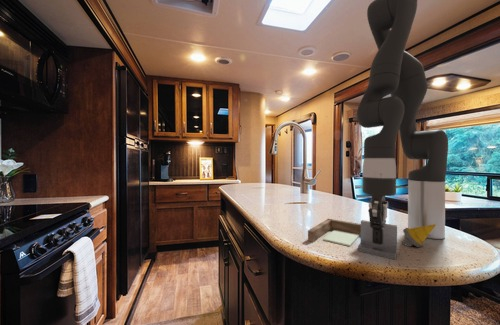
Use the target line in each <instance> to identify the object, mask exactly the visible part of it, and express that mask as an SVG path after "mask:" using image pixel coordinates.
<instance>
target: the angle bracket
mask: <svg viewBox="0 0 500 325" xmlns="http://www.w3.org/2000/svg"><path fill="white" fill-rule="evenodd" d="M375 223H377V224H379V223H378V222H375ZM360 224H361V235H360V243H359V244H358V245H357V251H358V252H362V253H366V254H370V255H374V256H379V257H384V258H387V259H390V260H396V258H397V253H398V225H397V224H388V223H385V224H384V223H383V227H384V229H383V243H382V244H381V245H379V244H375V243H373V242H372V236H373V228H371V226H370V220H365V219H362V220H360Z"/></svg>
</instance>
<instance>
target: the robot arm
mask: <svg viewBox="0 0 500 325" xmlns="http://www.w3.org/2000/svg"><path fill="white" fill-rule="evenodd" d="M417 8H418V0H373V1H372V2H370V3H369V5H368V7H367V12H366V16H367V21H368V22H367V23H368V27H369V28H370V32H371V35H372V37H373V39H374V42H375V45H376V47H377V50H378V51H377V52H376V54H375V56H374V58H373V60H372V63H371V66H370V69H369V70H370V72H369V78H368V85H367V87H366V88H365V91H364V93H363V95H362V98H361V100H360V102H359V105H358V107H357V112H356V118H357V119H356V120H357V122H358V124H359V125H360V126H361V127H362V128H366V129H367V128H368V129H370V128H371V129H372V128H377V127H379V128H380V127H382V128H381V130H380V131H379V132H378V133H376V134H373V135H370V136H368V137H366V138H365V139H364V142H363V163H362V189H361V191H362V193H364V195H370V196H371V199H370V201H368V217H369V221H370V226H371V228H373V236H372V242H373V243H375V244H379V245H381V244H382V243H383V229H384V227H383V223H384V224H386V223H387V220H386V219H387V218H388V208H389V201H386V197H391V196H393V197H394V196H395V195H396V194H397V165H396V163H397V162H396V142H397V138H398V135H399V136H400V137H399V138H400V142H401V148H402V151H403V153H404V156H405V157H406V158H407V159H409V160H427V162H426V164H425V165H424V166H422V167H420V168H417V169H414V170H413V169H412V170H410V171H409V172H408V175H407V176H408V177H407V179H408V180H407V181H408V182H407V191H408V192H407V228H409V229H410V228H416V227H422V226H428V225H434V224H436V226H435V227H434V228H433V230H432V231H431V232H430V234H429V235H427V238H426V239H433V240H434V239H435V240H440V239H442V240H443V239H445V238H446V176H447V170H448V168H447V167H448V154H449V139H448V138H449V137H448V134H447V133H446V131H444V130H443V129H430V130H421V131H418V130H417V125H416V119H417V114H418V112H419V109H420V107H421V105H422V104H423V100H424V99H425V97H426V95H427V92H428V82H427V77H426V76H427V75H426V72H425V68H424V65H423V64H422V62H421V61H420V60H418V59H417V58H416V57H414V56H413V55H412V54H410V53H409V52H408V51H406V50H405V48H406V45H407V42H408V39H409V36H410V33H411V30H412V28H413V27H412V26H413V23H414V20H415V17H416V13H417ZM388 95H390V96H388ZM398 133H399V134H398ZM375 222H378V223H379V224H377V223H375Z"/></svg>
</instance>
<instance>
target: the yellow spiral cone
mask: <svg viewBox="0 0 500 325" xmlns="http://www.w3.org/2000/svg"><path fill="white" fill-rule="evenodd" d="M435 226H436V224H434V225H428V226H422V227H416V228H410V229H409V228H408V227H406V228H404V229H402V230H403V231H402V232H403V234H404V237H403V238H404V239H403V241H402V244H403V243H404V244H403V245H405V244H406V245H405V246H407V245H408V246H407V247H409V246H410V247H412V246H413V245H414V246H415V247H417V248H420V247H423V243H424V241H425V240H426V239H428V238H427V235H429V234H430V232H431V231H432V230H433V228H434V227H435Z"/></svg>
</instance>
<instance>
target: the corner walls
mask: <svg viewBox="0 0 500 325" xmlns="http://www.w3.org/2000/svg"><path fill="white" fill-rule="evenodd" d="M331 230H333V231H334V230H338V231H343V232H348V233H353V234H359V236H361V223H358V222H350V221H346V220H345V221H344V220H338V219H333V218H327V219H325V220H324V221H322V222H320V223H319V224H317V225H315V226H313V227H312V228H310V229H308V230H307V241H308V242H311V243H315V242H316V241H317V240H319V238H321V237H323V236H324V235H326V234H327V233H328V232H329V231H331Z"/></svg>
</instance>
